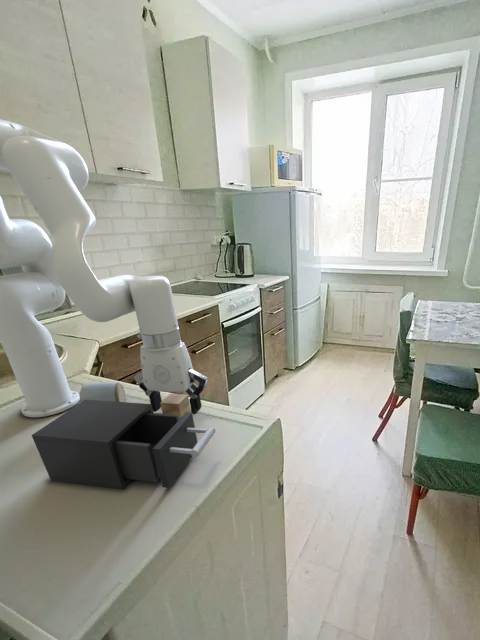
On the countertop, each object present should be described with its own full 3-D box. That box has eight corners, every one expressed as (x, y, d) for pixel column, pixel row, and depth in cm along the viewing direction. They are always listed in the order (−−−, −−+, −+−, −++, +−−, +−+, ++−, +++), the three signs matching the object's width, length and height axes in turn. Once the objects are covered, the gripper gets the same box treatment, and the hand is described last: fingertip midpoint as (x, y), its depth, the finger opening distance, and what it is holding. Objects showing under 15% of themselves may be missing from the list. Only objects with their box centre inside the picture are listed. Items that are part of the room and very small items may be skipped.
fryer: (161, 445, 71) (151, 403, 66) (123, 489, 60) (107, 442, 55) (98, 439, 74) (85, 399, 69) (50, 480, 63) (31, 435, 58)
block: (163, 420, 80) (159, 402, 78) (173, 410, 84) (170, 393, 82) (182, 421, 79) (178, 404, 77) (191, 411, 83) (187, 394, 81)
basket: (224, 449, 67) (218, 414, 64) (198, 491, 57) (190, 452, 54) (136, 441, 71) (127, 407, 67) (97, 479, 61) (84, 442, 57)
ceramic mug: (123, 416, 82) (115, 386, 79) (85, 422, 80) (75, 391, 77) (131, 397, 91) (124, 369, 88) (97, 401, 90) (88, 374, 87)
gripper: (113, 343, 72) (134, 416, 79) (191, 345, 68) (205, 421, 75) (135, 332, 78) (152, 400, 86) (207, 333, 75) (218, 404, 82)
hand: (177, 410), depth 80 cm, fingers open, 9 cm apart
